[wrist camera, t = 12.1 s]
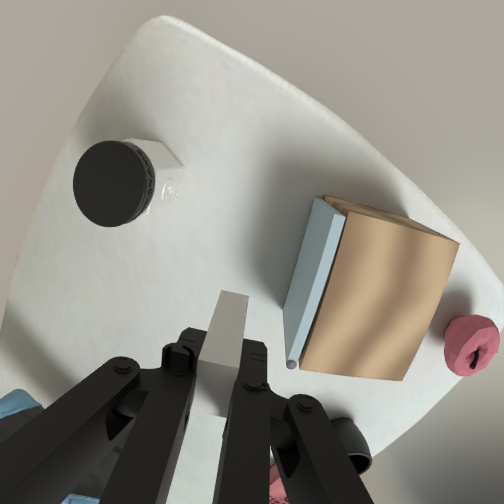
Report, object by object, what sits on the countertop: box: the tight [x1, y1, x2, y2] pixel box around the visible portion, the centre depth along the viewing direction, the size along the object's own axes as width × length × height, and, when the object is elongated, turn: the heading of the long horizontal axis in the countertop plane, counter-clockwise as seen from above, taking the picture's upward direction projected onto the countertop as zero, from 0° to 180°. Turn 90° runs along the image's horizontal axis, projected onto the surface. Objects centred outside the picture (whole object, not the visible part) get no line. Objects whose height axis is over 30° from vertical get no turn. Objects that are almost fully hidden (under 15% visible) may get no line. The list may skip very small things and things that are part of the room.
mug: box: [330, 418, 372, 475], centre depth 43 cm, size 8×12×10 cm
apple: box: [444, 315, 500, 376], centre depth 37 cm, size 10×9×10 cm
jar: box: [73, 138, 184, 227], centre depth 32 cm, size 9×8×12 cm
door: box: [283, 197, 346, 369], centre depth 33 cm, size 1×16×12 cm, turn 167°
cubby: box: [298, 195, 460, 381], centre depth 34 cm, size 12×16×12 cm
